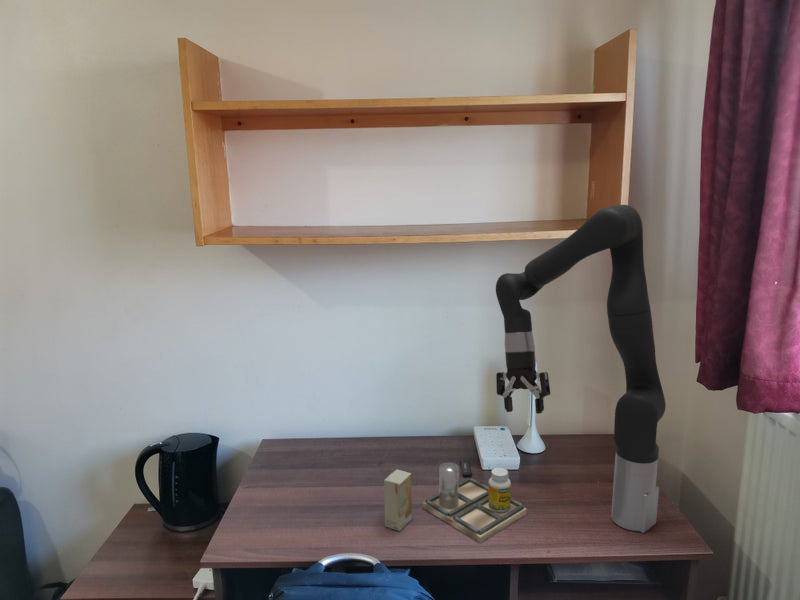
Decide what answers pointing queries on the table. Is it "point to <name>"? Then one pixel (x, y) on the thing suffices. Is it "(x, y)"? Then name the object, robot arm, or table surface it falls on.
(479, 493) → the wooden compartment tray
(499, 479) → the supplement bottle
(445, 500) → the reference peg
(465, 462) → the usb stick
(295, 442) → the table surface
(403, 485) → the skincare box
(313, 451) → the table surface
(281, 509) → the table surface
